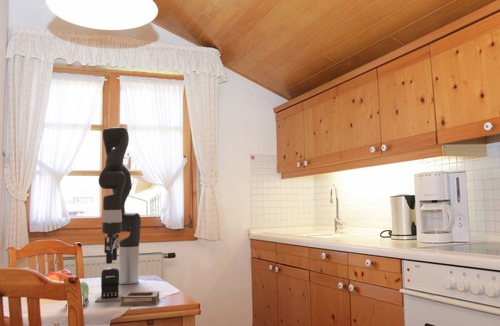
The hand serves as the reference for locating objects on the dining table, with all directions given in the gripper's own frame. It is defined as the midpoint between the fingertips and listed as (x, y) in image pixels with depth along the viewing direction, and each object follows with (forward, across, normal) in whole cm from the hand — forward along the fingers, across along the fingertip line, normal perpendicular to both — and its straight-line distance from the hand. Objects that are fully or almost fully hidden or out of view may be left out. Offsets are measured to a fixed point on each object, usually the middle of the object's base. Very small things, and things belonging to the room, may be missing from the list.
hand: (111, 261), depth 182 cm
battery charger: (+14, 0, 0) cm, 14 cm away
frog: (+15, +8, -10) cm, 20 cm away
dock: (+15, +6, +12) cm, 20 cm away
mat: (+15, 0, 0) cm, 15 cm away
